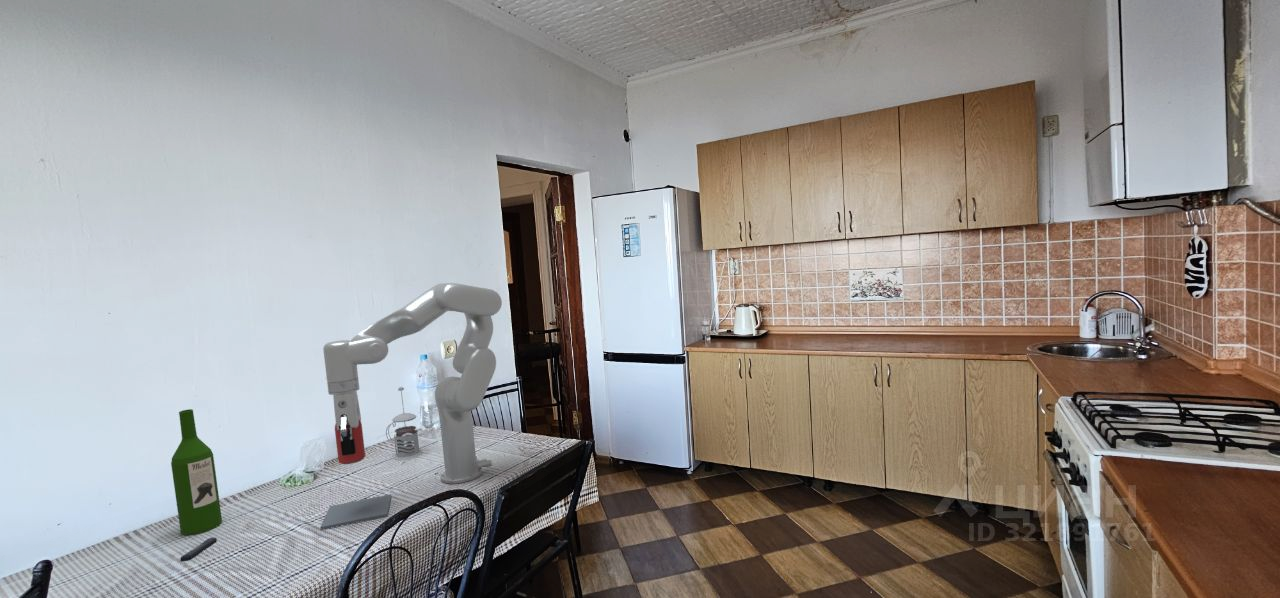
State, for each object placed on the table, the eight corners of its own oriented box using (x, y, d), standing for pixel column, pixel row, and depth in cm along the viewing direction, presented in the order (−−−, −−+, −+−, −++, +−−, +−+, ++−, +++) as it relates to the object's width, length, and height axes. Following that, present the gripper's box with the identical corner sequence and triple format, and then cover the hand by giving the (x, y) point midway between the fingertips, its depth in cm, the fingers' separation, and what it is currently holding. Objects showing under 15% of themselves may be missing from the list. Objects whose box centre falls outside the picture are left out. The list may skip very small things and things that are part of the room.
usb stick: (208, 542, 144) (207, 537, 144) (218, 542, 144) (218, 536, 144) (179, 562, 135) (178, 556, 135) (190, 561, 135) (189, 555, 135)
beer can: (354, 465, 150) (349, 421, 149) (333, 465, 151) (327, 421, 150) (370, 456, 156) (366, 414, 155) (350, 456, 158) (345, 414, 157)
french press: (416, 459, 196) (408, 389, 194) (383, 461, 196) (375, 391, 194) (427, 449, 205) (420, 382, 203) (395, 452, 206) (388, 385, 204)
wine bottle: (194, 537, 147) (178, 416, 145) (173, 533, 150) (156, 415, 148) (229, 521, 155) (214, 406, 153) (208, 518, 159) (193, 405, 156)
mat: (391, 496, 164) (391, 494, 164) (387, 516, 151) (387, 513, 151) (330, 508, 159) (329, 506, 159) (320, 530, 146) (320, 527, 146)
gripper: (354, 390, 145) (362, 457, 147) (362, 378, 162) (369, 439, 163) (321, 394, 143) (330, 463, 144) (333, 382, 159) (340, 443, 161)
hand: (351, 449), depth 154 cm, fingers closed on beer can, 6 cm apart
